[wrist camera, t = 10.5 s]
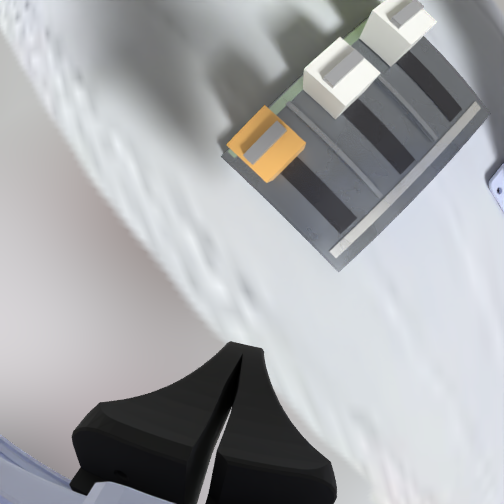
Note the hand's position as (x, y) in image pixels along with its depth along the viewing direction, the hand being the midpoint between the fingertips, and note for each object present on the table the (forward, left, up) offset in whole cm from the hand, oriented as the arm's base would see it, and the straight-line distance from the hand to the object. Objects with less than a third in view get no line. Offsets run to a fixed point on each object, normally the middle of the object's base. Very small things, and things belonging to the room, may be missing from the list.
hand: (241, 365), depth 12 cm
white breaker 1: (+6, -12, -9) cm, 15 cm away
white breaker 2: (+6, -17, -9) cm, 20 cm away
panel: (+3, -12, -10) cm, 16 cm away
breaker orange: (+6, -6, -9) cm, 12 cm away
